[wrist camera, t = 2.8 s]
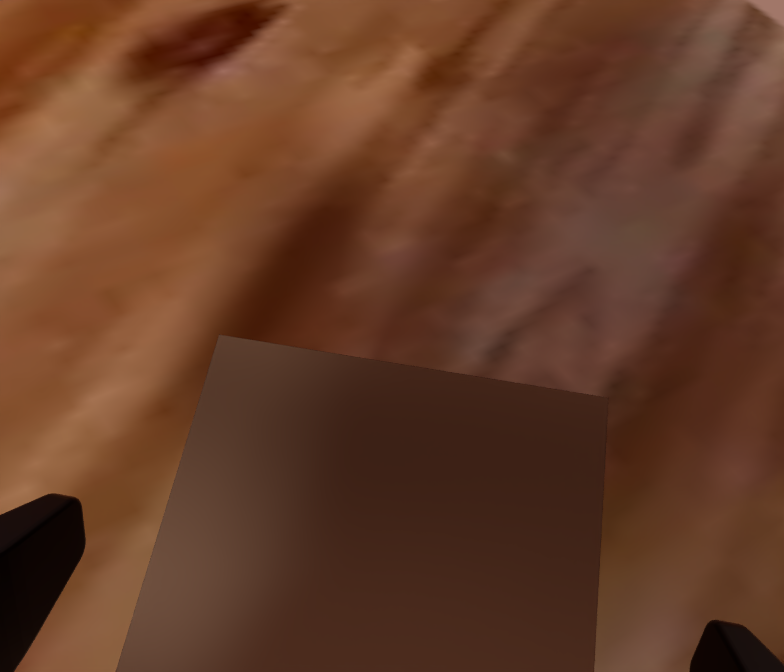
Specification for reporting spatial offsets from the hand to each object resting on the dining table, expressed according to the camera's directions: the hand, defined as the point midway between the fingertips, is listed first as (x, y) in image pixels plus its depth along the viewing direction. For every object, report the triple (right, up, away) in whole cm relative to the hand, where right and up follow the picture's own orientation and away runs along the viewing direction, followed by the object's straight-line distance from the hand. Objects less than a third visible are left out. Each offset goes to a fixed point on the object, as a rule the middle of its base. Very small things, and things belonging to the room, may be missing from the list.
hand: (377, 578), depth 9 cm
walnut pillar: (0, -3, +7) cm, 8 cm away
